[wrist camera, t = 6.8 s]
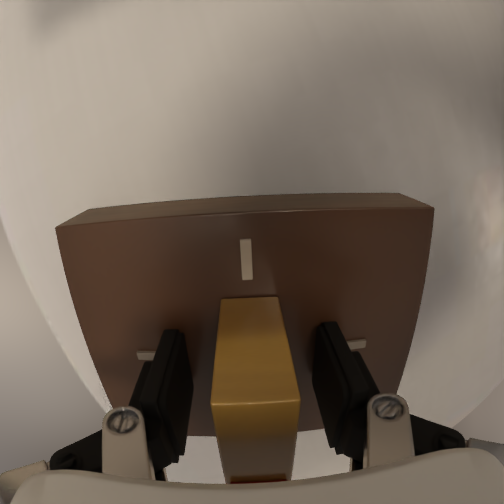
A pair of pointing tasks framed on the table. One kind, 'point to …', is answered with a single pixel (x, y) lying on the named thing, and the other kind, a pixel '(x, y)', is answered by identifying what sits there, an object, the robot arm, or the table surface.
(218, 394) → the lock knob
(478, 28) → the table surface
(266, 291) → the plate
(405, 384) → the table surface
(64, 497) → the robot arm
